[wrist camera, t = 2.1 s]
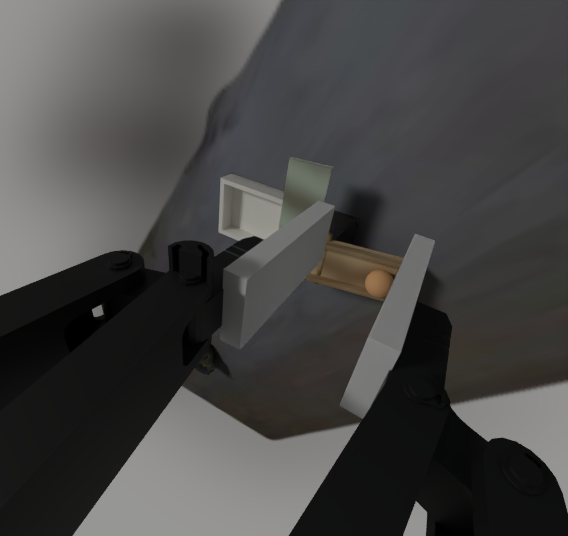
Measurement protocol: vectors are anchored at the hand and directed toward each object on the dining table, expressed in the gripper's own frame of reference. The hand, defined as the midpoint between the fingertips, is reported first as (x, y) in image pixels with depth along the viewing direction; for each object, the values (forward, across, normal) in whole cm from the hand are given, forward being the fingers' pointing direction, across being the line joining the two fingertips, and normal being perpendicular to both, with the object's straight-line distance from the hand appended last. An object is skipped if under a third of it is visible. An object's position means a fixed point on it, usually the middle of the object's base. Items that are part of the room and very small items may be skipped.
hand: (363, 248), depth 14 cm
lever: (+24, -6, -12) cm, 28 cm away
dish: (+30, -21, -16) cm, 40 cm away
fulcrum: (+30, -8, -16) cm, 35 cm away
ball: (+23, 0, -16) cm, 28 cm away
